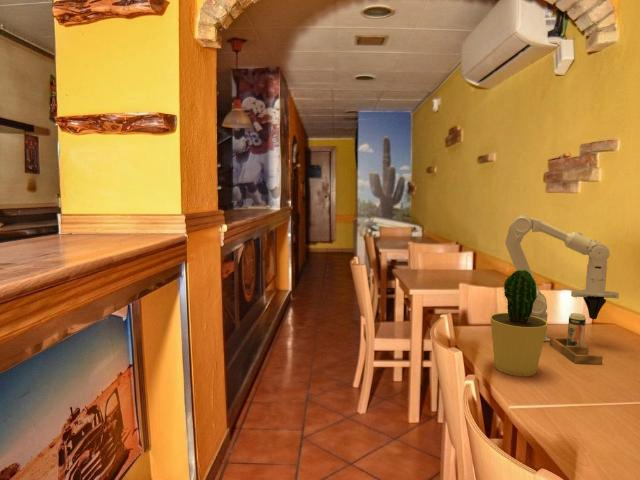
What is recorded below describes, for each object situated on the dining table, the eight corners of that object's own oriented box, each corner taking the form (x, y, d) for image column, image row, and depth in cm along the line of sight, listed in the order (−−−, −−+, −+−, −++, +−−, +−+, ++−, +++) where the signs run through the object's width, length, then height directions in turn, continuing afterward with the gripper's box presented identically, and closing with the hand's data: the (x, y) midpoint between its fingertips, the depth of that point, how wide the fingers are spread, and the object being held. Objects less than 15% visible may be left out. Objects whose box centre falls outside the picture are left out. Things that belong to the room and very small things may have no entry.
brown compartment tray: (575, 363, 141) (575, 355, 140) (549, 345, 158) (550, 337, 157) (602, 364, 140) (602, 356, 140) (573, 345, 157) (574, 338, 157)
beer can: (563, 348, 154) (565, 313, 153) (573, 347, 156) (576, 312, 154) (575, 353, 150) (578, 317, 148) (586, 351, 151) (589, 316, 150)
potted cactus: (523, 358, 145) (530, 263, 141) (556, 378, 130) (564, 272, 126) (477, 360, 142) (483, 263, 139) (505, 380, 127) (511, 272, 124)
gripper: (579, 280, 152) (576, 320, 153) (625, 281, 151) (621, 322, 152) (569, 276, 159) (566, 315, 160) (613, 277, 158) (609, 316, 159)
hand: (592, 318), depth 157 cm, fingers closed
